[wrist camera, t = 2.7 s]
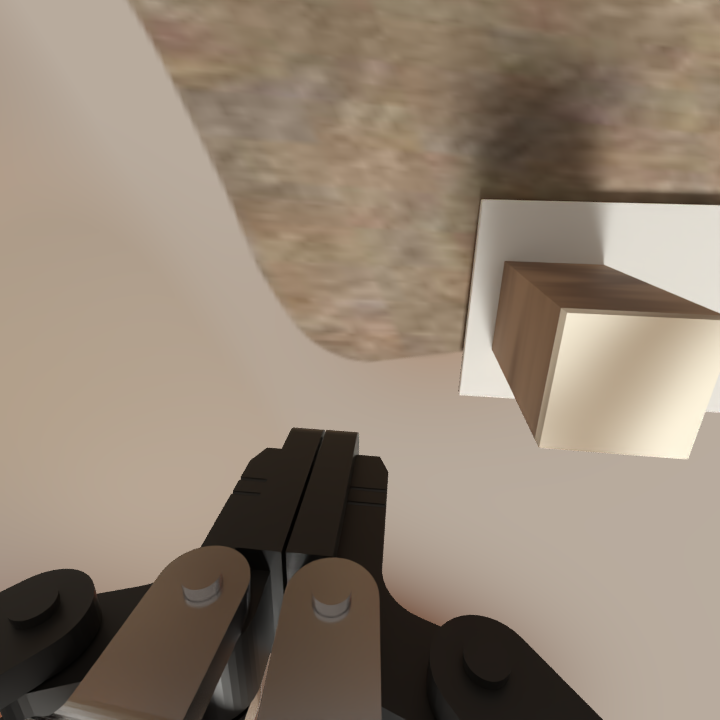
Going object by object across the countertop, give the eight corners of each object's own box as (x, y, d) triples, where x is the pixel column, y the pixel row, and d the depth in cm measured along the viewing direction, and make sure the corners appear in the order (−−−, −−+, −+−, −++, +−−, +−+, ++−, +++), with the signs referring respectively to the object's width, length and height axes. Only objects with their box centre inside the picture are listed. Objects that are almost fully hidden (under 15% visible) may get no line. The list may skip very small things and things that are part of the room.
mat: (865, 208, 21) (878, 209, 20) (777, 411, 25) (785, 416, 24) (480, 199, 22) (482, 199, 22) (458, 390, 27) (459, 394, 26)
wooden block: (604, 264, 22) (738, 321, 13) (583, 354, 24) (687, 459, 15) (504, 260, 23) (567, 312, 14) (491, 349, 25) (539, 447, 16)
